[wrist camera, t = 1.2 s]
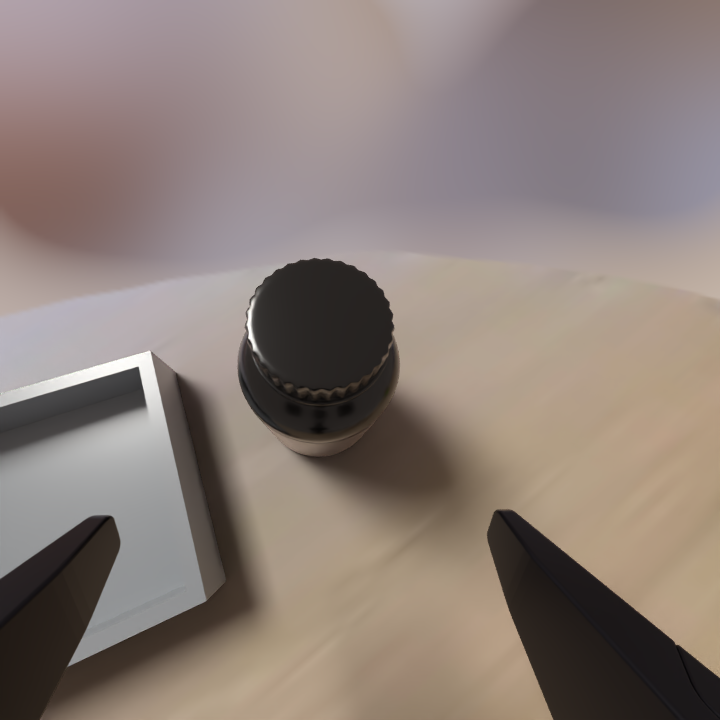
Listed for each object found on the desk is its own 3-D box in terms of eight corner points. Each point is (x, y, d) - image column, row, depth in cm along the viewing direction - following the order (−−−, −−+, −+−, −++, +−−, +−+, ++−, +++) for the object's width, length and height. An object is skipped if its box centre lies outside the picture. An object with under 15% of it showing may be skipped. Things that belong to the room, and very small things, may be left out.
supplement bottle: (276, 348, 23) (240, 214, 12) (376, 362, 23) (431, 247, 12) (254, 452, 20) (180, 407, 9) (366, 465, 21) (425, 438, 10)
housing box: (226, 580, 18) (206, 600, 15) (-61, 714, 15) (-167, 777, 12) (175, 371, 21) (150, 350, 18) (-64, 444, 18) (-146, 435, 15)
